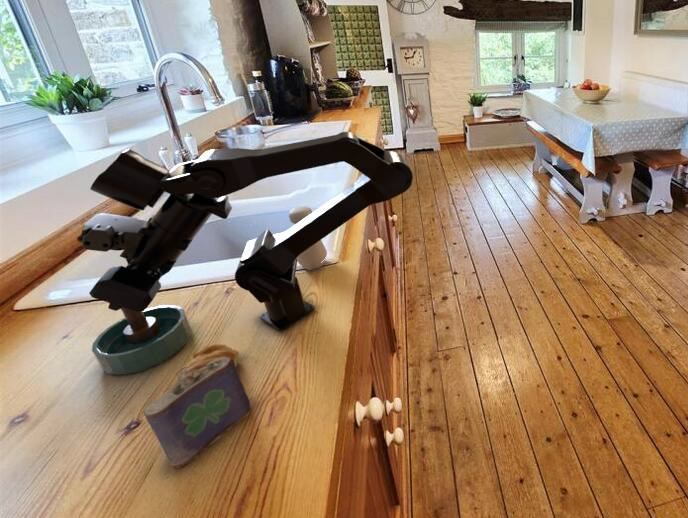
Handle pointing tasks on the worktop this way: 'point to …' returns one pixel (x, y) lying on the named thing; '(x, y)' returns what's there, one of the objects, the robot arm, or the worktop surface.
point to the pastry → (211, 356)
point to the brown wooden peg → (139, 327)
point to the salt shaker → (314, 253)
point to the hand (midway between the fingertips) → (116, 304)
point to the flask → (198, 410)
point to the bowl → (134, 358)
